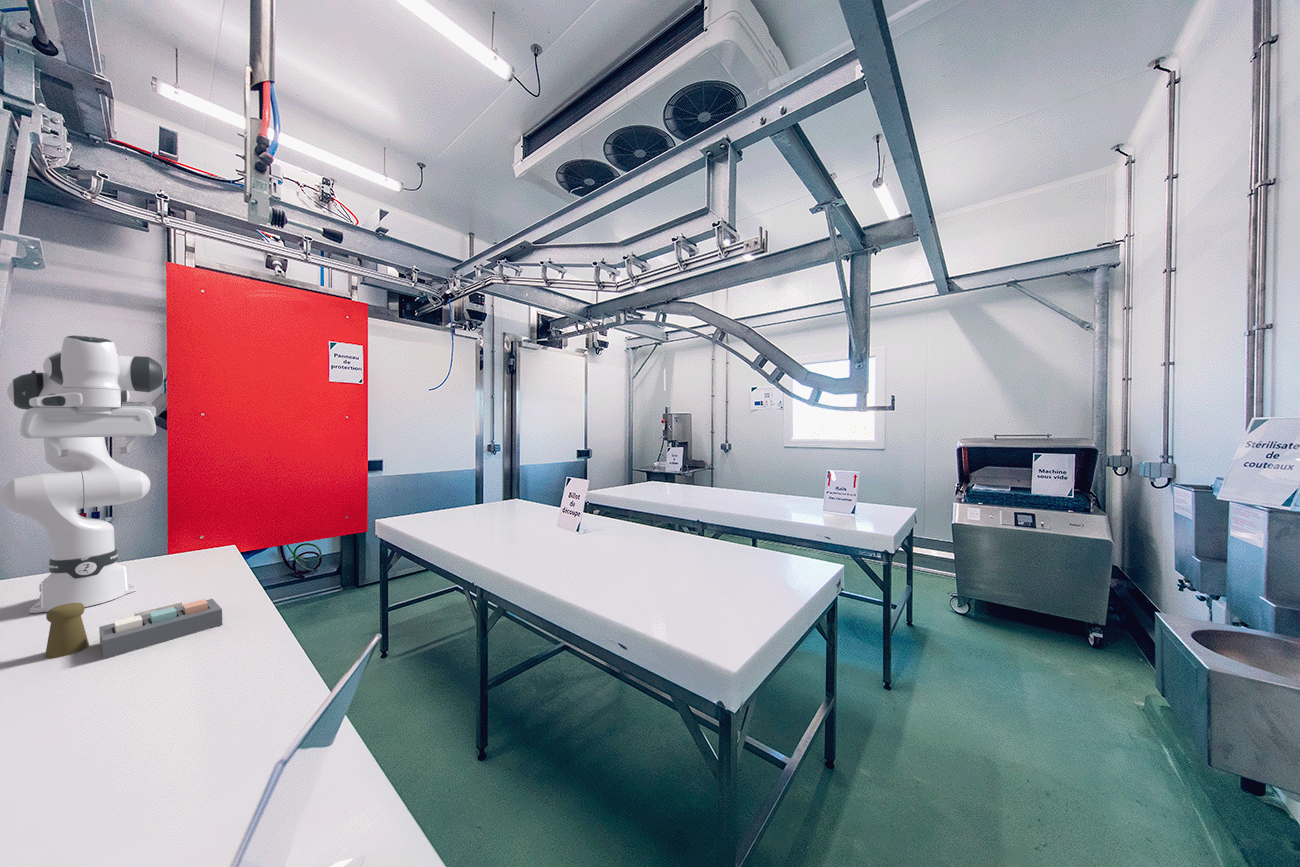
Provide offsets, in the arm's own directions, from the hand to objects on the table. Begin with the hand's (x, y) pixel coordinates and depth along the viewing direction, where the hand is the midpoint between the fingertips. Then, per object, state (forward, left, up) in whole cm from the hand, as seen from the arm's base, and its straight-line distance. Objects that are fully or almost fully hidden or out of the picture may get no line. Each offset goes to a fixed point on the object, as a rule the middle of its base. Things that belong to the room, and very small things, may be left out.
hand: (94, 455), depth 103 cm
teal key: (+15, +9, -43) cm, 46 cm away
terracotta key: (+15, +14, -43) cm, 47 cm away
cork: (+8, -5, -46) cm, 47 cm away
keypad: (+15, +9, -46) cm, 49 cm away
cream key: (+15, +3, -43) cm, 45 cm away
